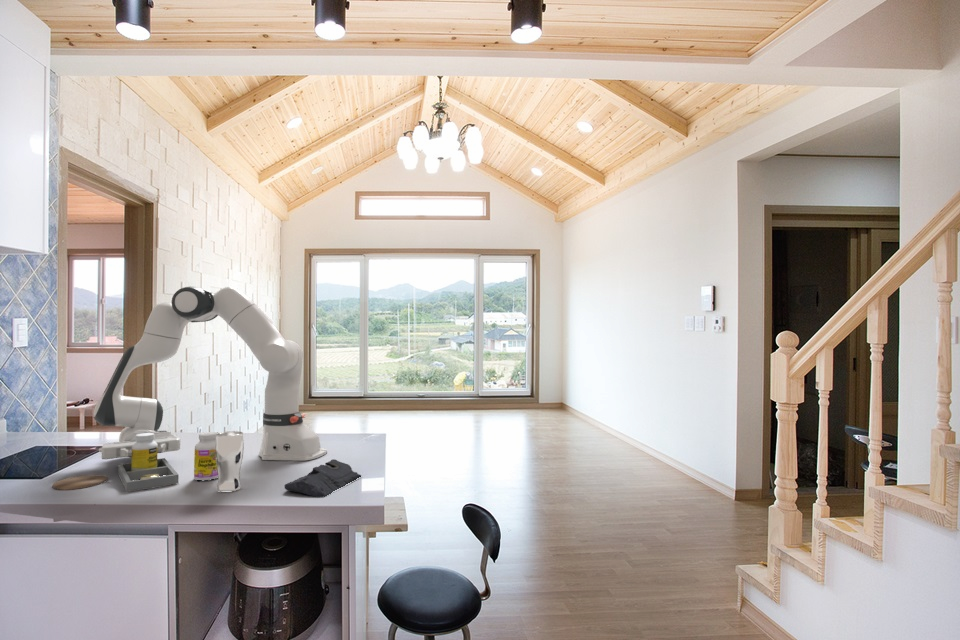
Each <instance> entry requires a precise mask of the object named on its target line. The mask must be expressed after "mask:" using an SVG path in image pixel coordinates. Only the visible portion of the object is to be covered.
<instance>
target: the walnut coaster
mask: <svg viewBox="0 0 960 640" xmlns="http://www.w3.org/2000/svg"><path fill="white" fill-rule="evenodd" d="M107 480H108V476H107V475H103V474H85V475H77V476H72V477H68V478H64V479H61V480H58V481H55V482H54V483H52V489H54V490H58V491H61V490H62V491H69V490H70V489H72V490H81V489H85V488H92V487H94V486H95V487H96V486H98V485H101V483H102V484H103V483H105V481H106V482H107Z"/></svg>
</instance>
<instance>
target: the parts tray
mask: <svg viewBox="0 0 960 640" xmlns="http://www.w3.org/2000/svg"><path fill="white" fill-rule="evenodd" d="M117 474H118V476H119V479H120V480H121V481H120V482H121V483H122V485H123V487H124V489H125V492H126V493H130V492H136V491H141V490H147V489H153V488H154V489H155V488H159V487H165V486H166V485H167V486H172V485H171V484H173V485H177V484H176V483H178V484H179V479H180V478H179V473H178V472H177V471H176V469H174V467H173V466H172V465H171V464H170V463H169V461H167V459H166V457H164V458H157V468H150V469H143V470H136V471H131V462H126V463H118V464H117ZM148 474H159V476H160V477H154V478H147V479H141V476H144V475H148ZM163 475H167V476H163ZM138 479H140V480H138ZM132 480H134V481H132ZM167 486H166V487H167Z"/></svg>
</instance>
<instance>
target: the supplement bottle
mask: <svg viewBox="0 0 960 640" xmlns="http://www.w3.org/2000/svg"><path fill="white" fill-rule="evenodd" d="M216 434H218V433H217V432H215V431H209V432H207V431H205V432H201V433H198V440H199V442H197V443H196V444H195V445H194V458H193V459H194V463H193V465H194V468H193V478H194V480H195V481H197V480H208V481H211V480H210V479H214V478H216V479H218V478H217V477H218V470H217V465H216V458H215V443H216ZM214 480H215V479H214Z"/></svg>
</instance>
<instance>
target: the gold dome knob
mask: <svg viewBox="0 0 960 640" xmlns="http://www.w3.org/2000/svg"><path fill="white" fill-rule="evenodd" d="M154 477H159V474H148V475H144V476H141V479H147V478H154ZM141 479H140V480H141Z"/></svg>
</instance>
